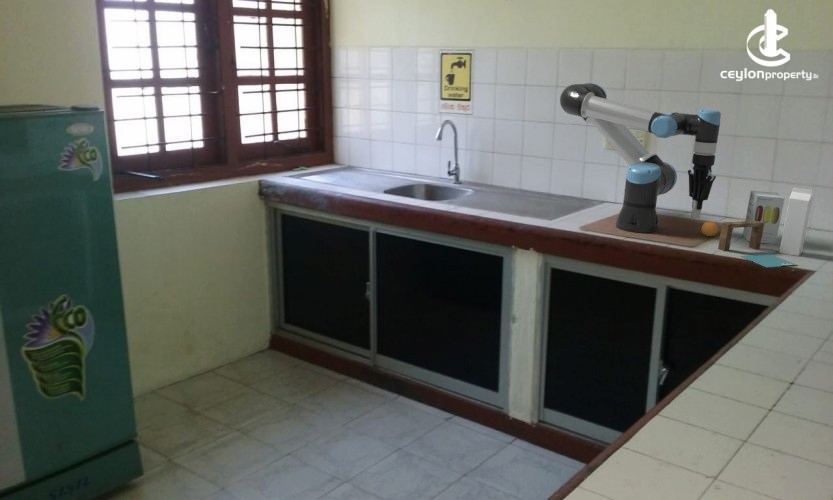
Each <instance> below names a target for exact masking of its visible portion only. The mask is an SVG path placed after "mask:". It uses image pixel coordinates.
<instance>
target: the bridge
mask: <svg viewBox="0 0 833 500" xmlns="http://www.w3.org/2000/svg"><path fill="white" fill-rule="evenodd" d="M744 227H752V231H751V237H750V242H748V248H751V249H753V250H760V248H761V244H762V243H761V239H762V233H763V228H764V223H763V222H760V221H744V220H743V221H722V223H721V229H720V236H719V242H718V247H717V249H718V250H721V251H723V252H729V251H730V247H731V242H732V235H733V229H735V228H744Z"/></svg>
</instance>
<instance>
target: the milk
mask: <svg viewBox="0 0 833 500" xmlns="http://www.w3.org/2000/svg"><path fill="white" fill-rule="evenodd" d="M812 202H813V189H808V188H801V187H792V190H791V194H790V196H789V198H788V203H787V210H786V214H785V220H784V225H783V230H782V236H781V240H780V241H781V242H780V247H779V252H778V253H779V254H785V255H790V256H796V257H799V256H800V255H801V254H802V252H803V249H804V243H805V239H806V234H807V227H808V223H809V217H810V212H811V207H812Z"/></svg>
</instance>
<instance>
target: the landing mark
mask: <svg viewBox="0 0 833 500" xmlns="http://www.w3.org/2000/svg"><path fill="white" fill-rule="evenodd" d="M740 257H741V258H743V259H745V258H746V259H745V260H748V259H749V260H748V261H750V260H751V261H750V262H752V261H753V263H755V264H757V265H760V266H762V267H765V268H782V267H781V266H783V265H781V264H782V263H784V264H786V263H788V264H790V263H791V264H792V265H797V264H796V263H793V262H791V261H788V260H786V259H784V258H781V257H779V256H776V255H774V254H766V253H765V254H754V255H753V254H751V255H740Z"/></svg>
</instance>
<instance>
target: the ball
mask: <svg viewBox="0 0 833 500" xmlns="http://www.w3.org/2000/svg"><path fill="white" fill-rule="evenodd" d="M718 227H719V226H718V225H717V223H715V222H714V221H711V220H710V221H708V220H707V221H705V222H704V223H703V224H702V225H701V228H700V229H701V233H702V234H703V235H704V236H705V235H706V237H708V236H711V237H715V235H717V233H718V231H719V228H718Z"/></svg>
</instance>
